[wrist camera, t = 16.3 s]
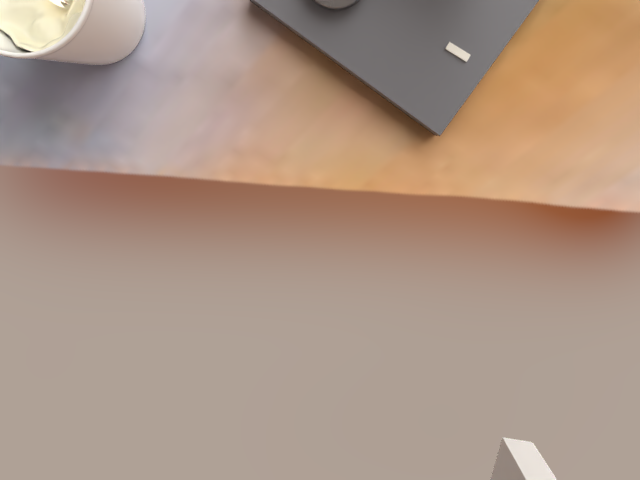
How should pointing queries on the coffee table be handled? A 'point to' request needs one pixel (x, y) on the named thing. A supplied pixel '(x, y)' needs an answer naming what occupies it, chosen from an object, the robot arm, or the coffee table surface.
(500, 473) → the robot arm
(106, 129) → the coffee table surface
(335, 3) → the shiny silver rounded post
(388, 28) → the dial board
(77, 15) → the candle holder
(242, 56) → the coffee table surface
